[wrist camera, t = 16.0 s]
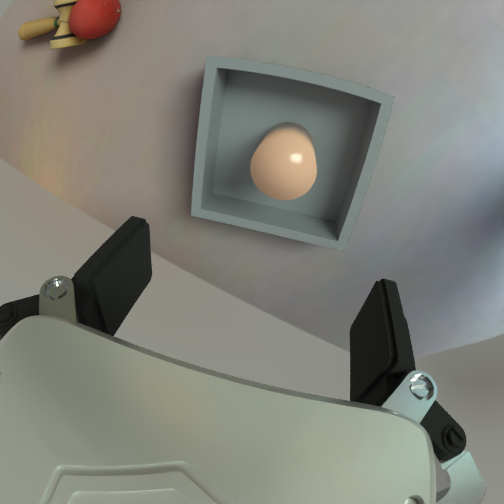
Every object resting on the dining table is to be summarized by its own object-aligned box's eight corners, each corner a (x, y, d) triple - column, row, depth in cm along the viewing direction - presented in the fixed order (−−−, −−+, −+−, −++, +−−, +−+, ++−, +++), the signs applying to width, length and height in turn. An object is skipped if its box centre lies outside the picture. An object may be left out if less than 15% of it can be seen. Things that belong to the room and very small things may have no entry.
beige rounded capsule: (319, 130, 27) (325, 148, 20) (306, 175, 30) (306, 207, 23) (269, 116, 27) (258, 130, 20) (258, 162, 30) (244, 190, 23)
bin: (381, 92, 24) (394, 96, 20) (340, 227, 33) (343, 251, 29) (223, 57, 25) (207, 55, 21) (205, 195, 34) (190, 215, 30)
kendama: (37, 58, 27) (120, 49, 24) (4, 57, 21) (80, 41, 19) (51, 11, 24) (139, -9, 21) (19, 6, 18) (103, -26, 15)
